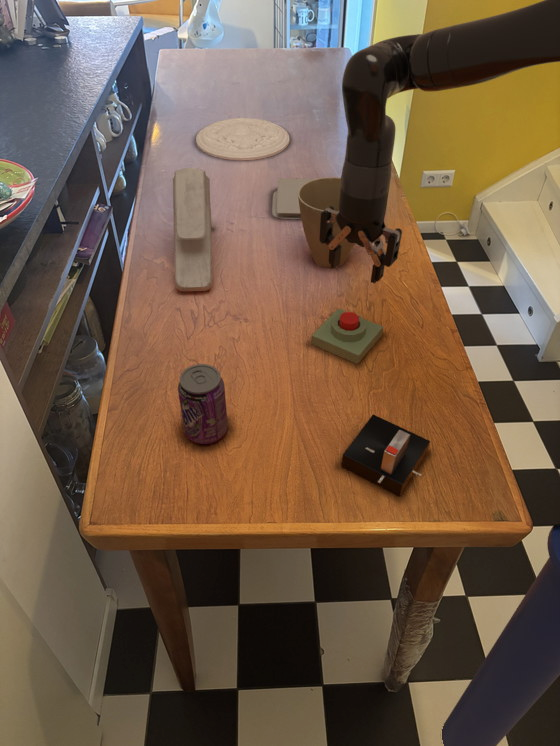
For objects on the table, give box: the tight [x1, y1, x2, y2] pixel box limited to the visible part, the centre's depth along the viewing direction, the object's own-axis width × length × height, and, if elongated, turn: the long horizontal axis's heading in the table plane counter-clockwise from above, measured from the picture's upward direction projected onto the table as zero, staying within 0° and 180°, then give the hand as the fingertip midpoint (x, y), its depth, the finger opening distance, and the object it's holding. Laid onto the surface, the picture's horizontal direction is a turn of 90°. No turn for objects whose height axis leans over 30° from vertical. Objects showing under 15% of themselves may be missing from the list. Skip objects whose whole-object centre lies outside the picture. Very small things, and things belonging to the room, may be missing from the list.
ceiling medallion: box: [195, 117, 290, 161], centre depth 180 cm, size 28×28×3 cm
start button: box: [339, 311, 360, 331], centre depth 112 cm, size 4×4×2 cm
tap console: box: [341, 414, 431, 497], centre depth 93 cm, size 12×12×3 cm
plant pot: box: [298, 176, 356, 269], centre depth 130 cm, size 15×15×16 cm
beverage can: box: [177, 363, 228, 445], centre depth 94 cm, size 7×7×12 cm
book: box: [271, 178, 315, 220], centre depth 152 cm, size 15×23×4 cm, turn 89°
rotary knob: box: [380, 430, 410, 475], centre depth 89 cm, size 5×2×5 cm, turn 146°
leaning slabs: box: [172, 167, 213, 292], centre depth 132 cm, size 8×24×23 cm
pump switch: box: [311, 308, 384, 365], centre depth 114 cm, size 10×10×4 cm
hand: (354, 273), depth 105 cm, fingers open, 7 cm apart
